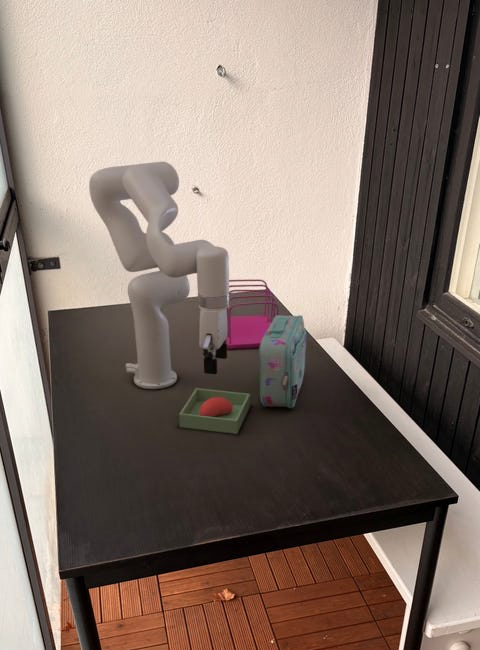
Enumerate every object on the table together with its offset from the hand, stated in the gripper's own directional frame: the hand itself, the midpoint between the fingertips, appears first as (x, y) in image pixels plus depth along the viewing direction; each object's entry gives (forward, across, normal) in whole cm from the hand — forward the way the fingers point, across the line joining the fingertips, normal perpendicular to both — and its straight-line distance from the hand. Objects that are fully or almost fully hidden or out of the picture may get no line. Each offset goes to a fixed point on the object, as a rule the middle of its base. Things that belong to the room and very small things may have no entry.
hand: (215, 365), depth 164 cm
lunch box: (+15, -17, +14) cm, 27 cm away
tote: (+15, 0, -1) cm, 15 cm away
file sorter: (+14, -59, -5) cm, 61 cm away
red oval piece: (+15, 0, -1) cm, 15 cm away
